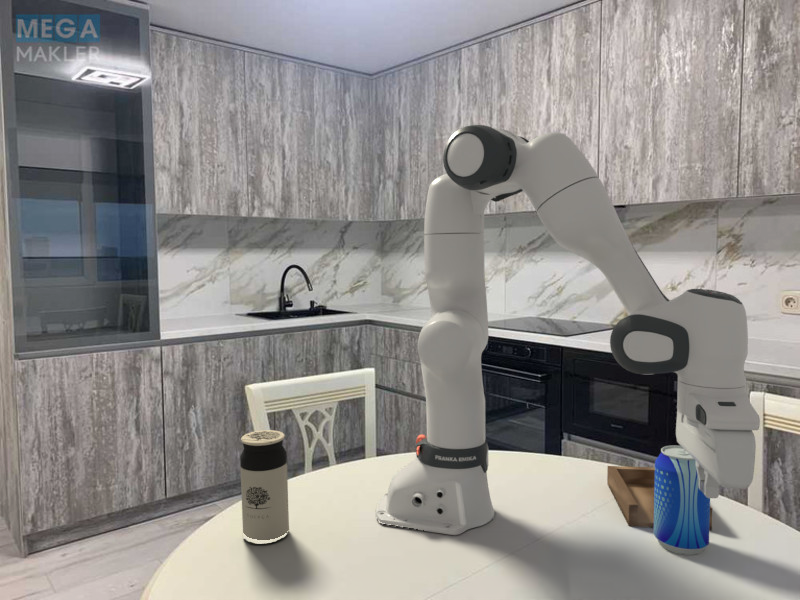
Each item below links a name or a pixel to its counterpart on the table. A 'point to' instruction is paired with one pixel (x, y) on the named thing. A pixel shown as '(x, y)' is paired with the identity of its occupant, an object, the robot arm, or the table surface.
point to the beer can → (679, 503)
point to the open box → (635, 494)
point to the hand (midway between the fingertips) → (708, 494)
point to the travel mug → (264, 485)
